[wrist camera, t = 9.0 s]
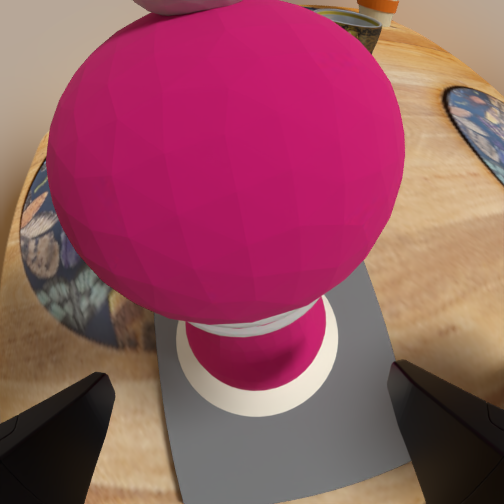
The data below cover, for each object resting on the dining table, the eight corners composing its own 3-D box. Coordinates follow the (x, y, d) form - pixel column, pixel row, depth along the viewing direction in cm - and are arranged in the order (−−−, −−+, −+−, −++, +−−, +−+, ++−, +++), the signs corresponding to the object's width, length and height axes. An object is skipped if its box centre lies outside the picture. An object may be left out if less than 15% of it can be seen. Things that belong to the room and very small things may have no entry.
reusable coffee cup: (344, 14, 58) (347, -28, 45) (376, 16, 60) (380, -23, 46) (372, 27, 52) (378, -20, 39) (404, 30, 54) (411, -12, 41)
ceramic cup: (310, 56, 40) (312, 6, 32) (367, 64, 39) (375, 15, 30) (310, 89, 34) (314, 24, 26) (381, 100, 33) (395, 39, 24)
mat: (411, 457, 14) (416, 458, 13) (188, 506, 14) (185, 510, 13) (351, 241, 23) (354, 235, 22) (155, 278, 22) (151, 273, 21)
